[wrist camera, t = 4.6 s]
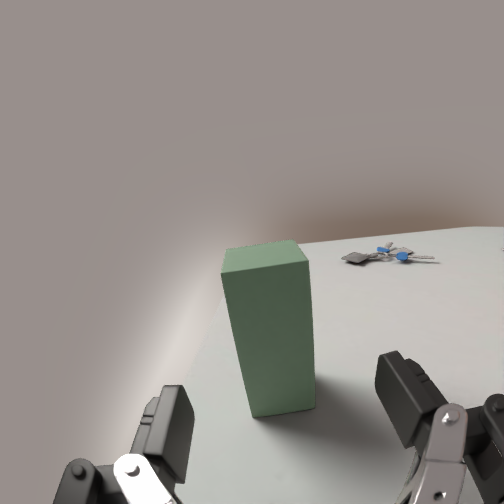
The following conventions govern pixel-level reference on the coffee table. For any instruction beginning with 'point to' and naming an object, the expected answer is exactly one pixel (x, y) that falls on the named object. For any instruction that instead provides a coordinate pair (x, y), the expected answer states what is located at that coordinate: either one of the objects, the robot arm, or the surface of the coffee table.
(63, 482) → the robot arm
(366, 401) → the coffee table surface
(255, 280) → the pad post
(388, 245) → the key chain
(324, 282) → the coffee table surface
